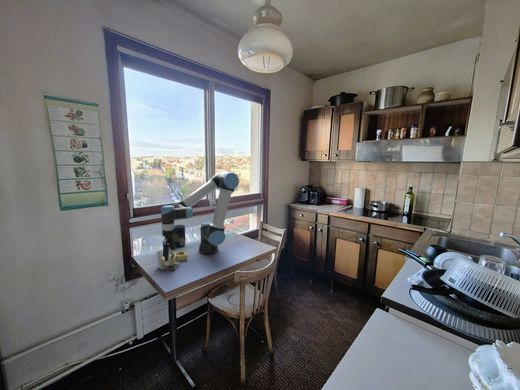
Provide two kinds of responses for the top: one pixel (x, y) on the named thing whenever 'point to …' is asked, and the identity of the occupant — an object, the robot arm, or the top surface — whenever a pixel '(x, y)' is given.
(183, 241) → the canister
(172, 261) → the link
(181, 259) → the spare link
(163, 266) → the keeper
